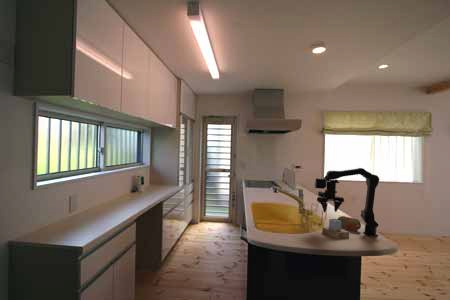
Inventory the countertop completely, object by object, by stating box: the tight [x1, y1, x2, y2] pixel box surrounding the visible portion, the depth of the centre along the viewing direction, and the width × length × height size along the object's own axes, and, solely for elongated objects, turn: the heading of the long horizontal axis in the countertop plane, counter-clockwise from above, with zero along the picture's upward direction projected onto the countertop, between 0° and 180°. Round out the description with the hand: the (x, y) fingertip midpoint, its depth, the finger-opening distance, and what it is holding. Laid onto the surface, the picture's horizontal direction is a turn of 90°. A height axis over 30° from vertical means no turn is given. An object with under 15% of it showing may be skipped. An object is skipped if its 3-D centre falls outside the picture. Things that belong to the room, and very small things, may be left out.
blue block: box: [328, 218, 342, 231], centre depth 151 cm, size 5×5×6 cm
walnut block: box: [321, 226, 350, 240], centre depth 151 cm, size 11×11×4 cm
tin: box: [336, 215, 362, 232], centre depth 164 cm, size 15×3×8 cm, turn 45°
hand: (330, 212), depth 160 cm, fingers open, 9 cm apart
